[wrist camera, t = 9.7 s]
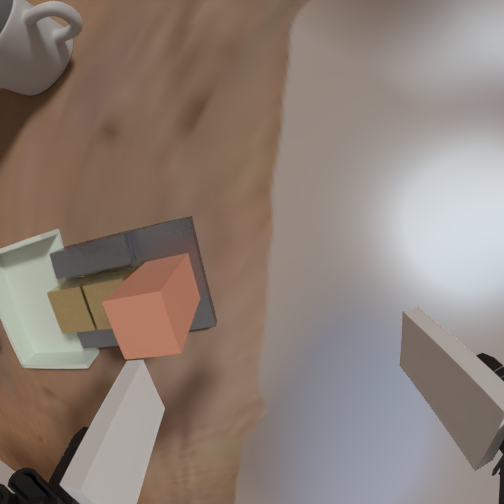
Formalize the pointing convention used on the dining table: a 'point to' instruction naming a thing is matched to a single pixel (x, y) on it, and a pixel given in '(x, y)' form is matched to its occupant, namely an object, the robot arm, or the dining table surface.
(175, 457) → the dining table surface
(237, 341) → the dining table surface
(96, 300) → the chip
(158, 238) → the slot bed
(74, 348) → the tray
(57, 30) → the mug
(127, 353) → the salmon pink flat-faced block
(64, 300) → the chip
